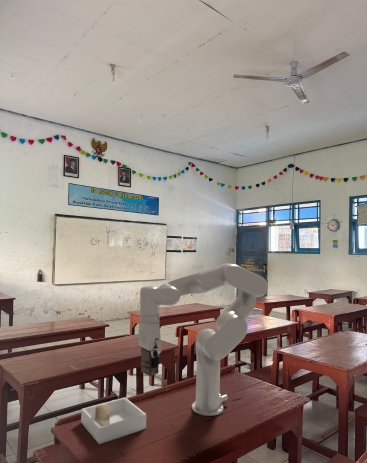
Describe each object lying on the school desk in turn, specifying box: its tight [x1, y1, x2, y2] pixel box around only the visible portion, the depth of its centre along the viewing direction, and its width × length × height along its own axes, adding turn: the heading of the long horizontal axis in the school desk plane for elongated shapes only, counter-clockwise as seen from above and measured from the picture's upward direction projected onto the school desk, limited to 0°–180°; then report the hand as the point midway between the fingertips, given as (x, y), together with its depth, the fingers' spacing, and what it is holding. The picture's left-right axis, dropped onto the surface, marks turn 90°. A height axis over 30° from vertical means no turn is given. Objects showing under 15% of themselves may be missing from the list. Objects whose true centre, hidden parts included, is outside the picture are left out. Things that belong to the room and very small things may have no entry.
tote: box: [80, 397, 147, 445], centre depth 124 cm, size 18×17×5 cm
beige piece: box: [95, 403, 110, 427], centre depth 121 cm, size 5×5×7 cm
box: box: [140, 347, 159, 377], centre depth 133 cm, size 6×4×12 cm
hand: (149, 364), depth 133 cm, fingers closed on box, 6 cm apart
